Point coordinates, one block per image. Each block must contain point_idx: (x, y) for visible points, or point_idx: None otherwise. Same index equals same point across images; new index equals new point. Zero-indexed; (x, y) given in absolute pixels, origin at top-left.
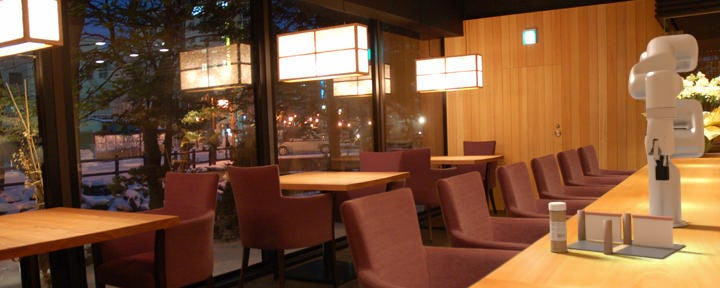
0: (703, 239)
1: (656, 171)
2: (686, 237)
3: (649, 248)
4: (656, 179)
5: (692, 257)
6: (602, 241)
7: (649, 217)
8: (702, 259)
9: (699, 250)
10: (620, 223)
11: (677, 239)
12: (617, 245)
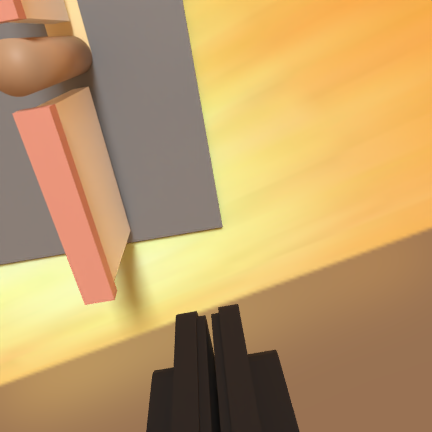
0: (391, 212)
1: (176, 398)
2: (405, 150)
3: None
4: (176, 323)
5: (64, 312)
6: None
7: (51, 207)
8: (61, 338)
9: (181, 283)
10: (22, 21)
11: (340, 144)
12: (11, 35)
